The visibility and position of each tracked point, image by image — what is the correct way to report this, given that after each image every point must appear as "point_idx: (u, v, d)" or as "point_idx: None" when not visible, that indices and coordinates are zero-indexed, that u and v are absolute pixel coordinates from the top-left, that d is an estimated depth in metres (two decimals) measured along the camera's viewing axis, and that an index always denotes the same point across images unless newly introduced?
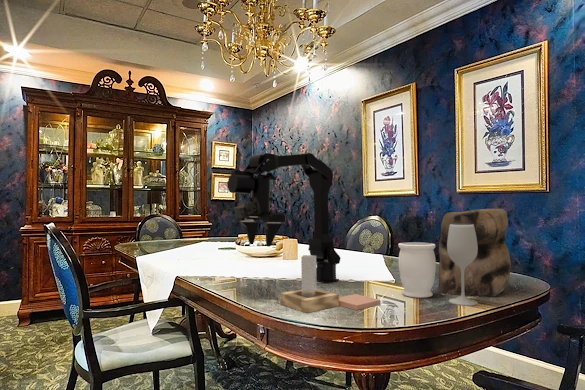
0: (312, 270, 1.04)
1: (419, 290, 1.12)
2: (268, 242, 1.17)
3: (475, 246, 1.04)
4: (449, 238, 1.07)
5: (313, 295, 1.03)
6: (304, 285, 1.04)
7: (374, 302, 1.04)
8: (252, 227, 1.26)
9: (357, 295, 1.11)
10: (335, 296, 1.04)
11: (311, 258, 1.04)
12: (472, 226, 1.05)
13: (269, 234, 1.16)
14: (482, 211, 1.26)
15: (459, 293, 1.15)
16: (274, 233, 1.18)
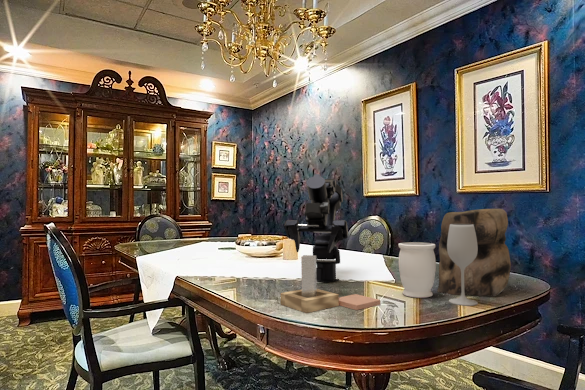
0: (312, 270, 1.04)
1: (419, 290, 1.12)
2: (330, 247, 1.13)
3: (475, 246, 1.04)
4: (449, 238, 1.07)
5: (313, 295, 1.03)
6: (304, 285, 1.04)
7: (374, 302, 1.04)
8: (298, 238, 1.19)
9: (357, 295, 1.11)
10: (335, 296, 1.04)
11: (311, 258, 1.04)
12: (472, 226, 1.05)
13: (333, 240, 1.14)
14: (482, 211, 1.26)
15: (459, 293, 1.15)
16: (334, 243, 1.16)
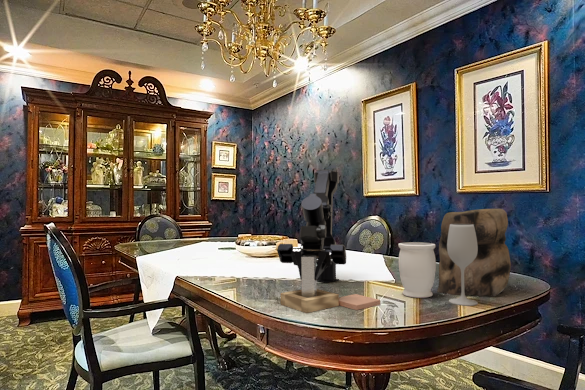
0: (312, 270, 1.04)
1: (419, 290, 1.12)
2: (317, 274, 1.04)
3: (475, 246, 1.04)
4: (449, 238, 1.07)
5: (313, 295, 1.03)
6: (304, 285, 1.04)
7: (374, 302, 1.04)
8: None
9: (357, 295, 1.11)
10: (335, 296, 1.04)
11: (311, 258, 1.04)
12: (472, 226, 1.05)
13: (320, 267, 1.06)
14: (482, 211, 1.26)
15: (459, 293, 1.15)
16: (322, 270, 1.07)
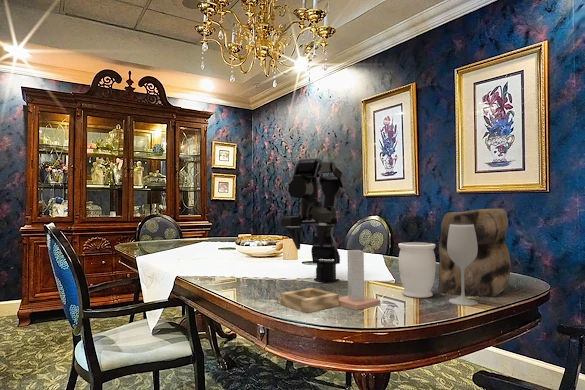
0: (362, 264, 1.05)
1: (419, 290, 1.12)
2: None
3: (475, 246, 1.04)
4: (449, 238, 1.07)
5: (363, 289, 1.05)
6: (354, 280, 1.04)
7: (374, 302, 1.04)
8: None
9: None
10: (335, 296, 1.04)
11: (361, 252, 1.05)
12: (472, 226, 1.05)
13: None
14: (482, 211, 1.26)
15: (459, 293, 1.15)
16: None
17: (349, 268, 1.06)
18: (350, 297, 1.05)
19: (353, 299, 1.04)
